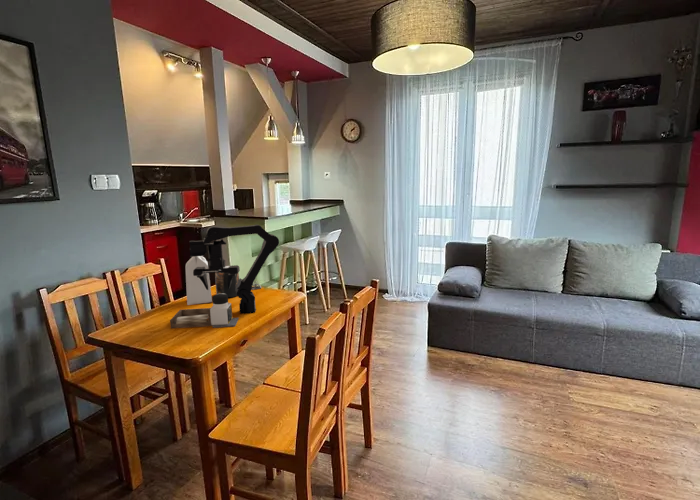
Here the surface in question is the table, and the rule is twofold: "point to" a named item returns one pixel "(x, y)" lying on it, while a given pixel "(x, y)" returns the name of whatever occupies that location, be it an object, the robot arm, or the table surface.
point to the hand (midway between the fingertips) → (218, 289)
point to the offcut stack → (192, 319)
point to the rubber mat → (231, 324)
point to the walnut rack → (191, 313)
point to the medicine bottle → (221, 310)
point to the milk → (197, 282)
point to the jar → (226, 283)
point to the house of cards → (256, 286)
